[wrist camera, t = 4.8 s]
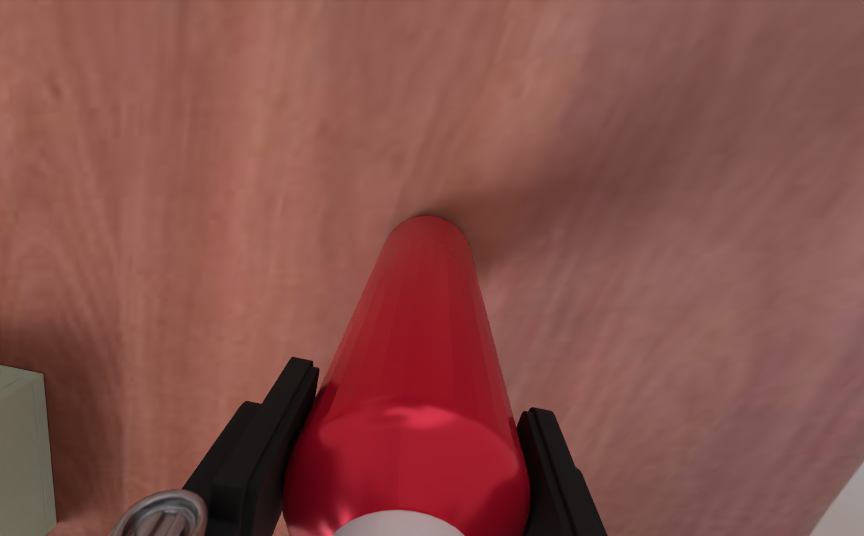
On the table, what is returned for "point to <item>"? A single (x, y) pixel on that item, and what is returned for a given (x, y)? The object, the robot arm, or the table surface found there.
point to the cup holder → (24, 456)
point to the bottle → (412, 408)
